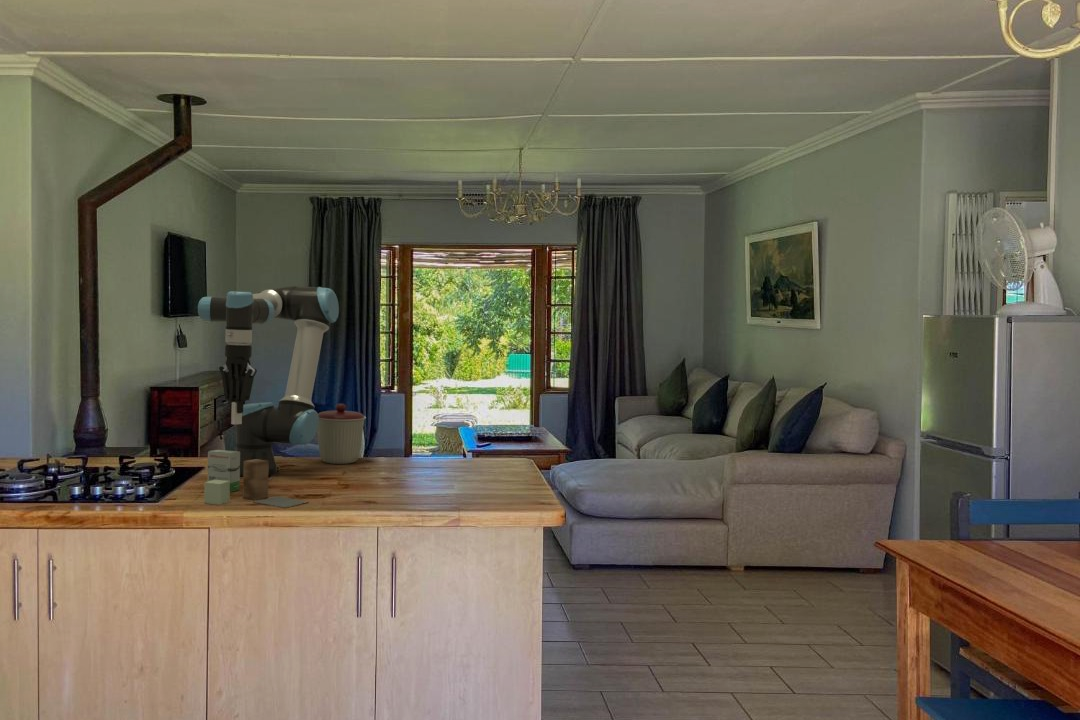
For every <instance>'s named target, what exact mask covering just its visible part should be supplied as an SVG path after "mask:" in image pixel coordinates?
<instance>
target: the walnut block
mask: <svg viewBox="0 0 1080 720" xmlns="http://www.w3.org/2000/svg"><path fill="white" fill-rule="evenodd" d="M268 472H269V461H266V460H260V459H253V460H247V461H244V467H243V476H242V499H244V500H252V501H255V500H256V501H258V500H259V499H261V500H263V499H264V498H265V499H268V498H269V475H268Z"/></svg>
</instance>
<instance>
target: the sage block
mask: <svg viewBox="0 0 1080 720" xmlns="http://www.w3.org/2000/svg"><path fill="white" fill-rule="evenodd" d="M230 493H231V492H230V481H224V480H211V481H208V482H207V481H205V482H204V493H203V494H204V495H203V499H204V502H203V503H204V504H206V503H207V505H210V504H211V505H217V506H218V505H219V506H221V505H223V503H224V504H227V503H229V502H230V501H231V500H230V497H231V495H230ZM226 502H227V503H226Z"/></svg>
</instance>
